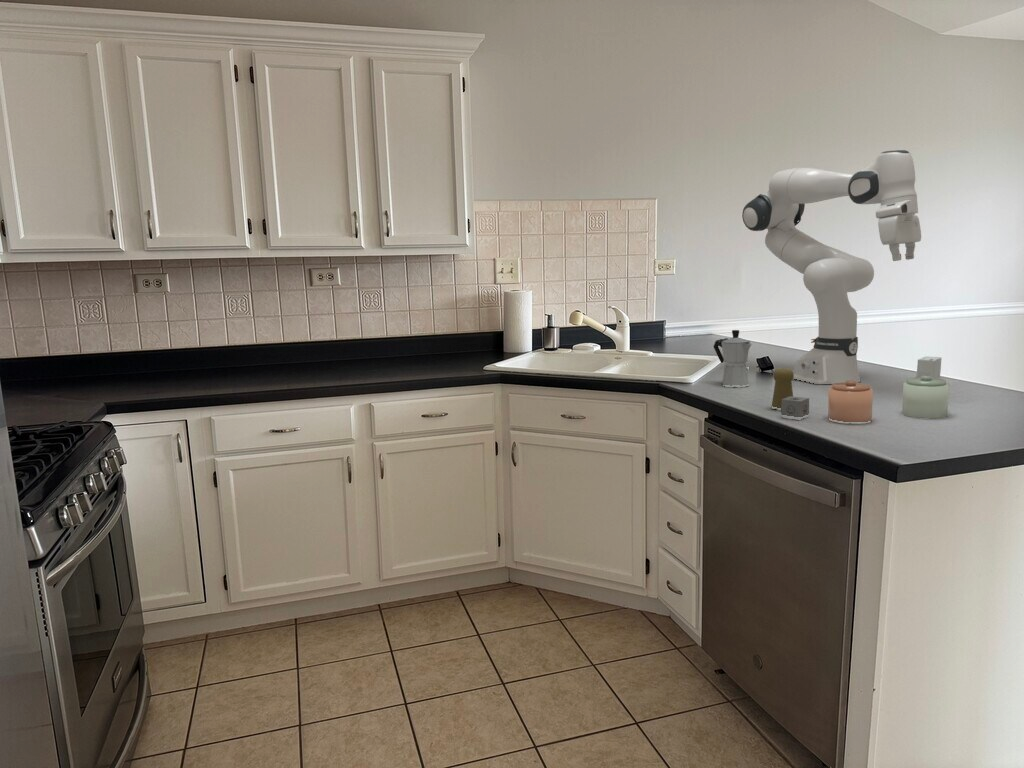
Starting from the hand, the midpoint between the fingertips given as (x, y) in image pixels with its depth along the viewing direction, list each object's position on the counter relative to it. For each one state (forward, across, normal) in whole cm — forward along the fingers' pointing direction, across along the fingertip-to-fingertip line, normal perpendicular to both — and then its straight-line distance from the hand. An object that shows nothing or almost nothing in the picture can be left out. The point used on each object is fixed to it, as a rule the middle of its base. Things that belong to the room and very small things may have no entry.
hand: (903, 260), depth 199 cm
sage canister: (+40, +20, +9) cm, 45 cm away
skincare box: (+39, +5, +4) cm, 40 cm away
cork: (+36, +33, -22) cm, 54 cm away
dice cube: (+37, +41, -15) cm, 57 cm away
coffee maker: (+32, +10, -51) cm, 61 cm away
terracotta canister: (+38, +36, -3) cm, 53 cm away
